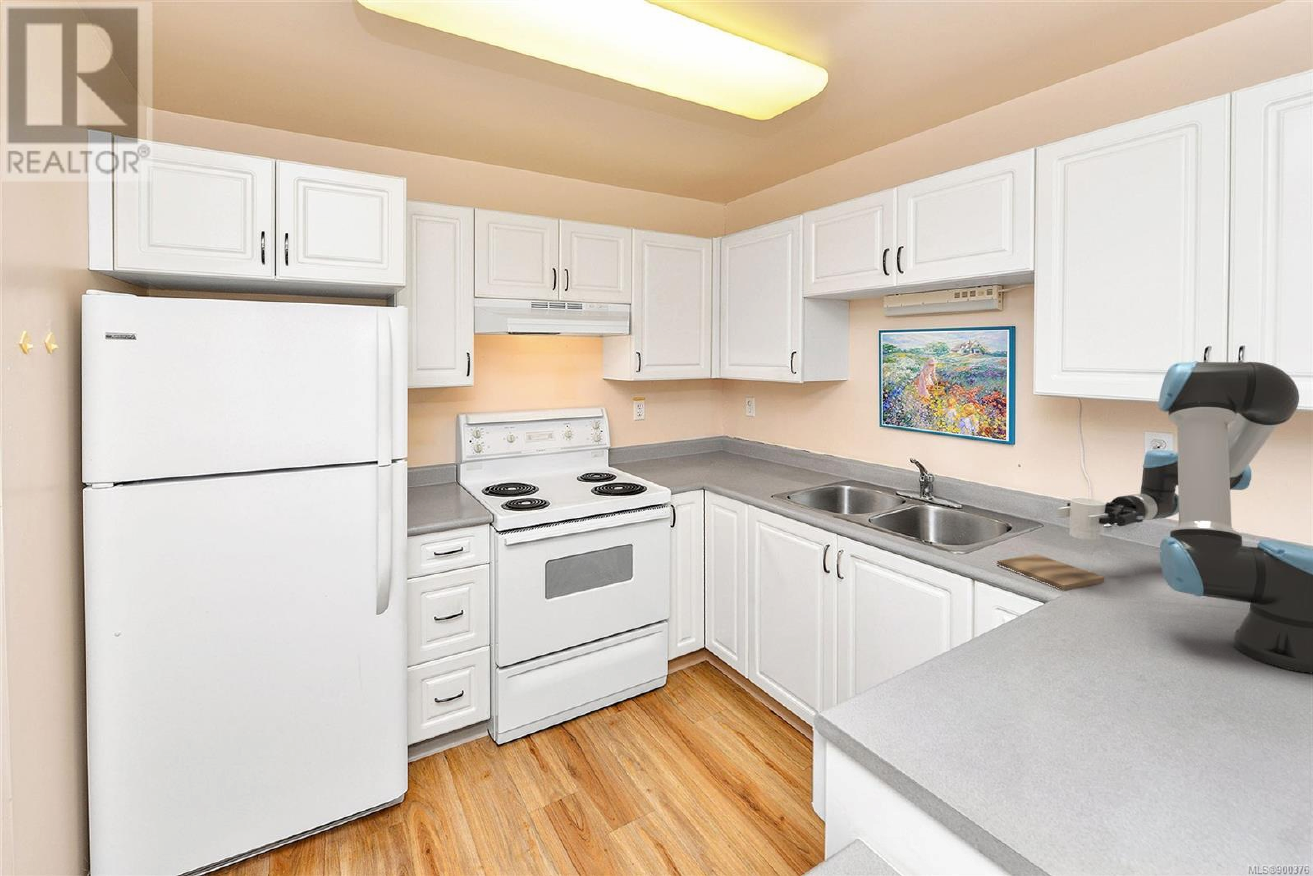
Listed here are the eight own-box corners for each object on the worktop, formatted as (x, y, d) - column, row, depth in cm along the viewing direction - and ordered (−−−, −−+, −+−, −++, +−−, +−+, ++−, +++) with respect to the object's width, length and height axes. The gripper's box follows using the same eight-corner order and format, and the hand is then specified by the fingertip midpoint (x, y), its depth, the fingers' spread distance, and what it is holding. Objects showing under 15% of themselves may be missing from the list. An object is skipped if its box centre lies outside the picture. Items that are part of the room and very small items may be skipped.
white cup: (1108, 542, 159) (1112, 505, 157) (1074, 540, 161) (1077, 504, 159) (1093, 533, 167) (1097, 498, 165) (1061, 531, 168) (1065, 496, 167)
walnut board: (1104, 582, 165) (1104, 577, 165) (1063, 590, 159) (1063, 585, 159) (1035, 558, 183) (1036, 554, 183) (996, 565, 178) (997, 560, 178)
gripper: (1171, 532, 159) (1111, 542, 152) (1094, 512, 179) (1036, 520, 171) (1175, 504, 158) (1114, 513, 151) (1096, 487, 177) (1039, 494, 170)
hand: (1073, 517), depth 161 cm, fingers closed on white cup, 8 cm apart
